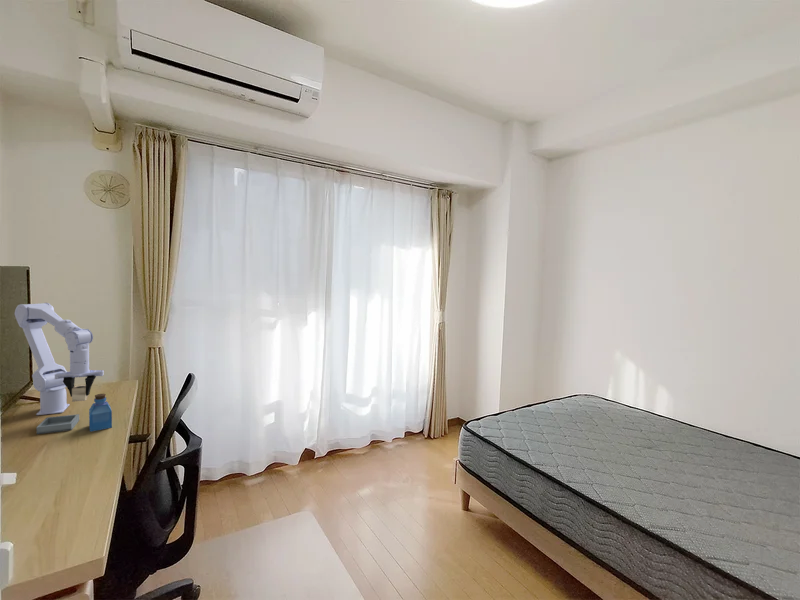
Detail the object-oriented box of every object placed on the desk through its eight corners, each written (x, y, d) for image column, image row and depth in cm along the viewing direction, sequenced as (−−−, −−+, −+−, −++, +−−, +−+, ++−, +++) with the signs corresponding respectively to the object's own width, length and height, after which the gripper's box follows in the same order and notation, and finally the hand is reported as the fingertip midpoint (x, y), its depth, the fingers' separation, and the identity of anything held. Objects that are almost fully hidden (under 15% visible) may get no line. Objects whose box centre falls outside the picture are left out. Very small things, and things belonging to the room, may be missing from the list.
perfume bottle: (90, 431, 135) (89, 399, 134) (89, 425, 140) (88, 394, 139) (111, 427, 139) (111, 395, 138) (110, 422, 144) (110, 391, 143)
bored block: (75, 398, 148) (75, 385, 147) (88, 397, 150) (88, 384, 149) (72, 401, 144) (71, 388, 144) (85, 400, 146) (85, 387, 146)
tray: (46, 424, 139) (46, 417, 139) (79, 420, 144) (79, 414, 143) (36, 434, 131) (36, 427, 131) (71, 430, 135) (71, 423, 135)
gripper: (51, 364, 139) (52, 400, 140) (100, 362, 146) (101, 396, 147) (57, 360, 145) (58, 394, 146) (104, 358, 152) (105, 391, 153)
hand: (80, 395), depth 147 cm, fingers closed on bored block, 4 cm apart
